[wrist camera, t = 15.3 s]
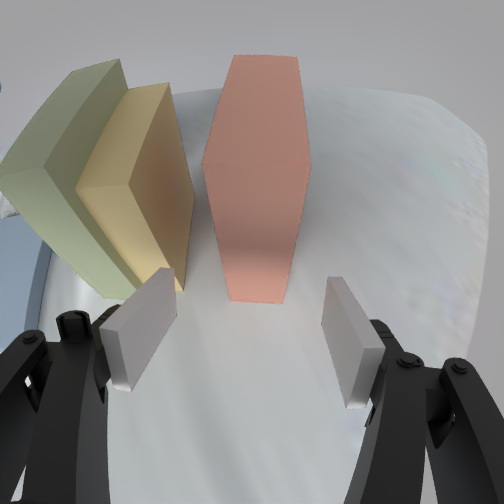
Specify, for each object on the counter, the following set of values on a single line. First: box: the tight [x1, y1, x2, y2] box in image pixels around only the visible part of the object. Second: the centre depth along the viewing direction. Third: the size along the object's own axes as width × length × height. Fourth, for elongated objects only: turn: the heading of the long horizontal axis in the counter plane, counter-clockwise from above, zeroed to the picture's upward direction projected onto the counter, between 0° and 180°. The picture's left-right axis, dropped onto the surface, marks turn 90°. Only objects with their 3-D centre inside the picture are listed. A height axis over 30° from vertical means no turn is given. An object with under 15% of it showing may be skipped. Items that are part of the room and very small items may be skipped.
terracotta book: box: [202, 55, 311, 304], centre depth 22 cm, size 12×4×16 cm, turn 176°
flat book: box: [0, 215, 52, 352], centre depth 26 cm, size 17×12×2 cm
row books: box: [0, 59, 195, 299], centre depth 21 cm, size 12×8×17 cm, turn 0°
